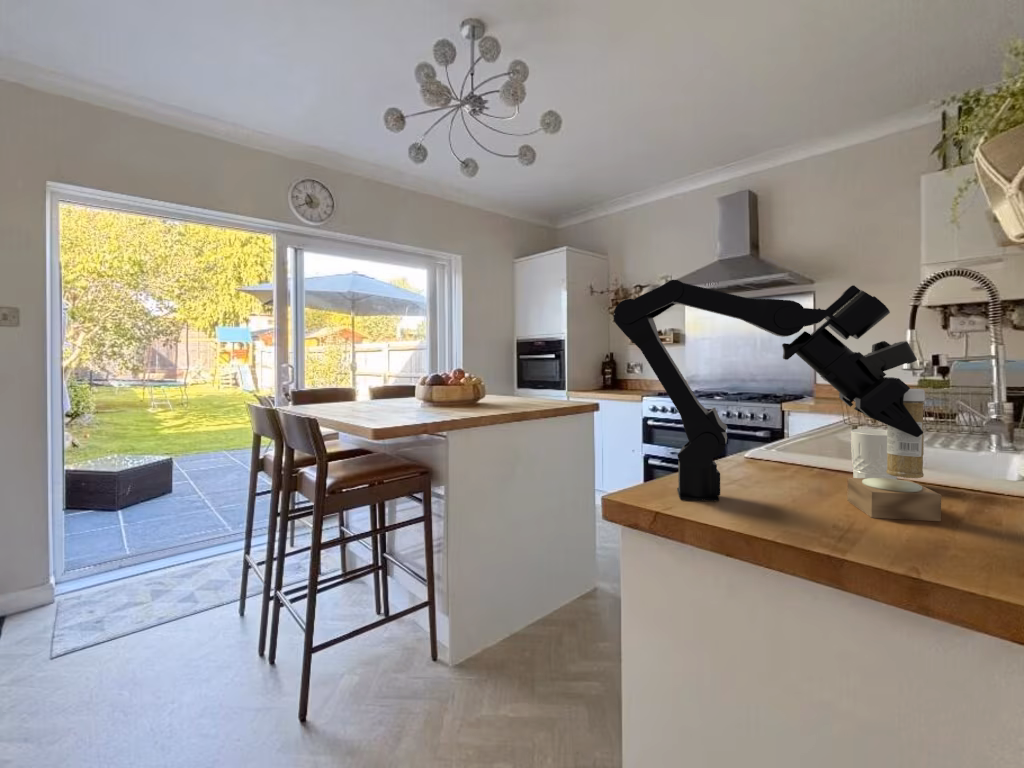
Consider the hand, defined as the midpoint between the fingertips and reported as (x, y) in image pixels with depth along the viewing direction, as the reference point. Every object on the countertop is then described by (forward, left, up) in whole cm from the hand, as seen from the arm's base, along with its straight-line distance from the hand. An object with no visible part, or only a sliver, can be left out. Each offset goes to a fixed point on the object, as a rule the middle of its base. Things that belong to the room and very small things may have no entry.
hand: (915, 432), depth 75 cm
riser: (-2, +3, -13) cm, 13 cm away
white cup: (+3, +21, -13) cm, 25 cm away
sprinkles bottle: (-1, 0, -7) cm, 7 cm away
